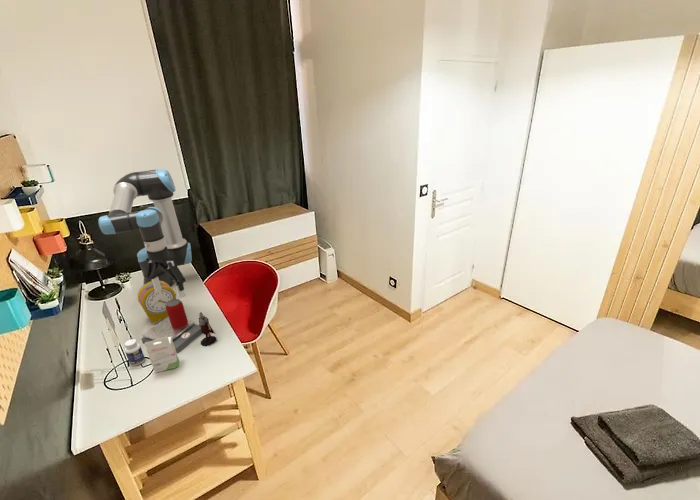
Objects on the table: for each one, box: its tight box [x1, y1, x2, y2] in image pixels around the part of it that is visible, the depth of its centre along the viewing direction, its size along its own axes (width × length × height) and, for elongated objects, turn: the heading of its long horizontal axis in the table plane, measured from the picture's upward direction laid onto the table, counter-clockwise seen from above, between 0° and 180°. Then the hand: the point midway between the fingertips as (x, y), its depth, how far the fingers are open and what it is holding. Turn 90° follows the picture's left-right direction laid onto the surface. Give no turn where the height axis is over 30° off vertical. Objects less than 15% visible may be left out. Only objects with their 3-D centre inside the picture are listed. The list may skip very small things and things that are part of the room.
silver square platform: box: [141, 317, 195, 340], centre depth 156 cm, size 15×15×2 cm
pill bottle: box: [124, 338, 146, 366], centre depth 141 cm, size 5×5×10 cm
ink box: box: [144, 337, 180, 374], centre depth 137 cm, size 9×5×15 cm, turn 110°
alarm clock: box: [137, 281, 177, 324], centre depth 169 cm, size 15×8×18 cm, turn 131°
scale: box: [140, 323, 203, 354], centre depth 156 cm, size 16×20×3 cm
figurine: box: [198, 311, 217, 347], centre depth 150 cm, size 7×7×15 cm
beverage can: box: [166, 298, 189, 328], centre depth 155 cm, size 7×7×12 cm
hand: (170, 294), depth 150 cm, fingers open, 13 cm apart
